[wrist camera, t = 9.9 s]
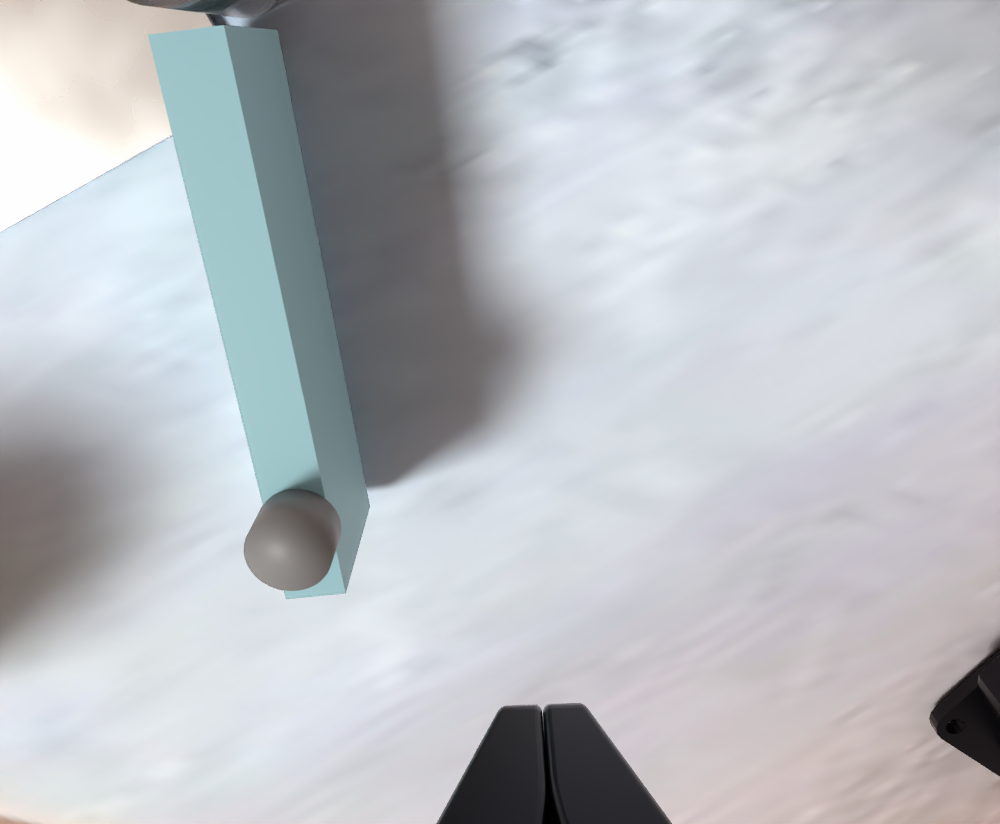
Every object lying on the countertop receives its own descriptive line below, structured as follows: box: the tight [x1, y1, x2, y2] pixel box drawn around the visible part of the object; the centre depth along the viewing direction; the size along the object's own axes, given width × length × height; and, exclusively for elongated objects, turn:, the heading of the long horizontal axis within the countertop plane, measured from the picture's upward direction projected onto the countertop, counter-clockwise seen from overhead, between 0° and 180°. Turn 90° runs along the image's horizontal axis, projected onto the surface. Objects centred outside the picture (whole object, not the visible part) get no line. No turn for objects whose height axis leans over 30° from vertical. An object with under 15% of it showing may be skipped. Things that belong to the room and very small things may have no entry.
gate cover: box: [148, 25, 370, 599], centre depth 17 cm, size 10×2×5 cm, turn 7°
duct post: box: [0, 0, 278, 232], centre depth 15 cm, size 8×4×5 cm, turn 117°
